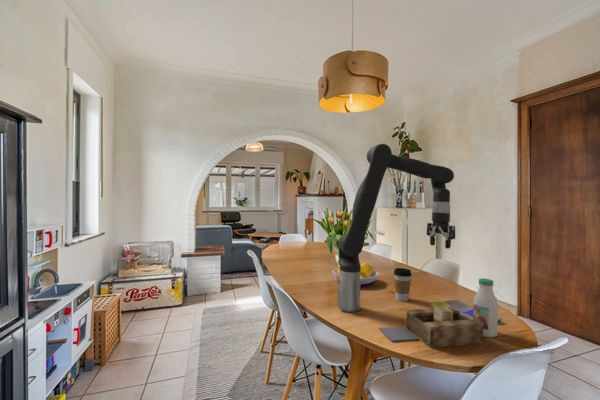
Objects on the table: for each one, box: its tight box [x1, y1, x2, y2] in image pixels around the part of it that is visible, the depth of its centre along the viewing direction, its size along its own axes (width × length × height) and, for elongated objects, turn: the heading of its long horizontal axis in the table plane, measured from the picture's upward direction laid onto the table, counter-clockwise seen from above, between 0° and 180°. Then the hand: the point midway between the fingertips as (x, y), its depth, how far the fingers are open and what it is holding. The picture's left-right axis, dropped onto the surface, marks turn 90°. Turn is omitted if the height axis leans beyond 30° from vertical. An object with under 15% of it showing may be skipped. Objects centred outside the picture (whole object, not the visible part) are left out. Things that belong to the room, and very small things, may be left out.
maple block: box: [434, 307, 453, 322], centre depth 109 cm, size 4×4×7 cm
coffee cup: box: [393, 267, 412, 302], centre depth 147 cm, size 8×8×15 cm
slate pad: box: [378, 325, 419, 343], centre depth 109 cm, size 10×10×1 cm
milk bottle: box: [472, 277, 499, 338], centre depth 111 cm, size 8×8×20 cm
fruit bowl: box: [331, 262, 380, 286], centre depth 178 cm, size 28×27×11 cm
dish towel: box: [429, 299, 504, 326], centre depth 129 cm, size 18×24×3 cm
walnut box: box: [406, 307, 484, 349], centre depth 109 cm, size 20×15×7 cm
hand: (439, 246), depth 138 cm, fingers open, 8 cm apart
